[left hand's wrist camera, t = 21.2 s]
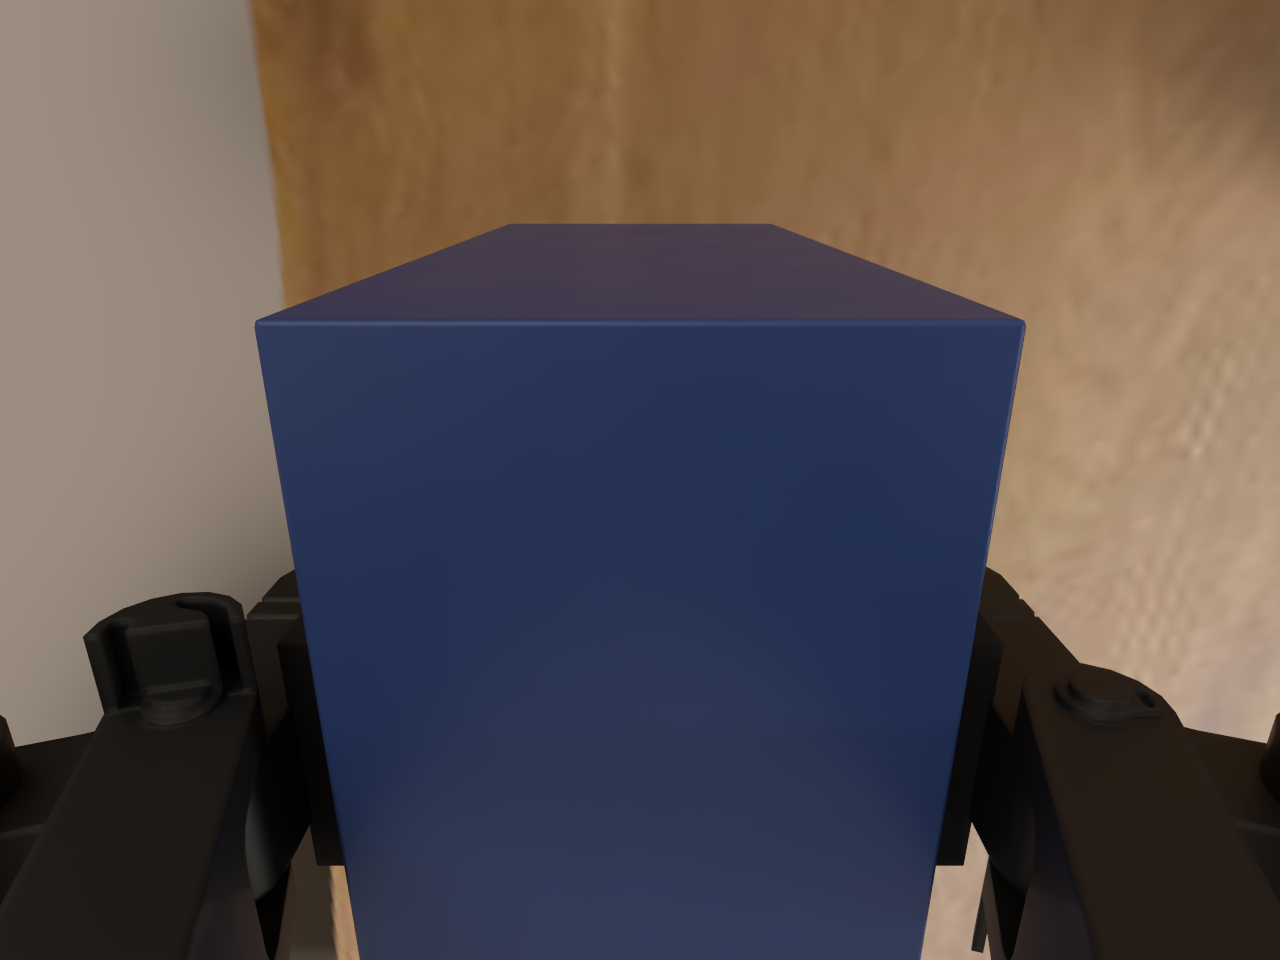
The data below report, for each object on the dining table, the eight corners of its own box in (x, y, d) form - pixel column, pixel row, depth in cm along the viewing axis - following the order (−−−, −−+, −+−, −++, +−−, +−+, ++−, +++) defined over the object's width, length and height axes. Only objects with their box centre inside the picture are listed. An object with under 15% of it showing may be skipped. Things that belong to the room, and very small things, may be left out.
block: (507, 223, 16) (249, 319, 6) (773, 223, 16) (1030, 319, 6) (529, 623, 20) (393, 1173, 9) (751, 623, 20) (886, 1175, 9)
